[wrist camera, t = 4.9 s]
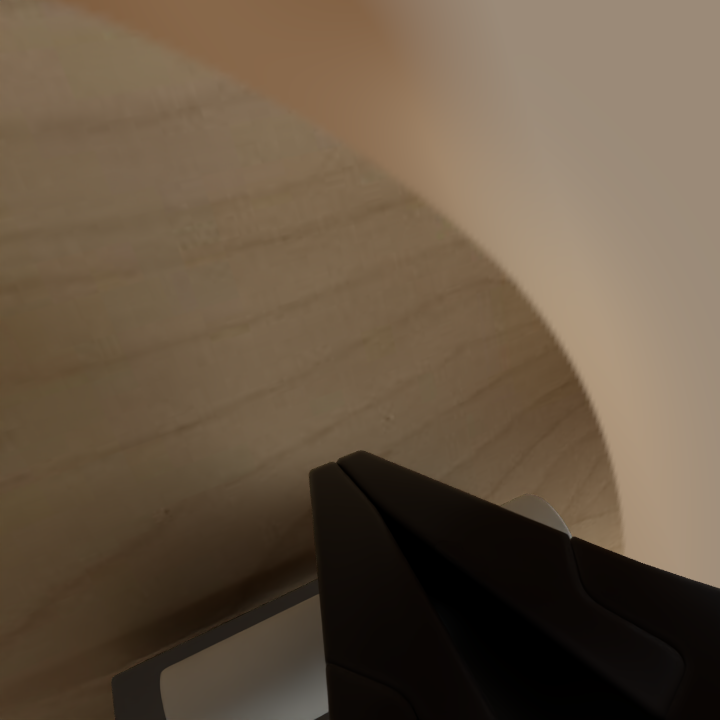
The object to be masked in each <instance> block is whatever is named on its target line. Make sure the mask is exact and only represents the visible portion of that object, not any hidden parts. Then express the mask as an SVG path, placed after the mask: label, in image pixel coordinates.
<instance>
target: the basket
mask: <svg viewBox="0 0 720 720" xmlns="http://www.w3.org/2000/svg"><path fill="white" fill-rule="evenodd" d="M501 507H503V508H505V509H508V510H510V511H513V512H515V513H518V514H520V515H523V516H525V517H527V518H530V519H532V520H535V521H537V522H540V523H542V524H545V525H547V526H550V527H552V528H554V529H557V530H559V531H562V532H564V533H567V534H568V535H569V537H570V539H571V538H572V536H571V533H570V531H569V529H568V528H567V526H566V524H565V523H564V521H563V520H562V518H561V517H560V515H559V514H558V513H557V512H556V510H555V509H554V508H553V507H552V506H551V505H550V504H549V503H548V502H546V501H545V500H544V499H542V498H541V497H539V496H537V495H534V494H524V495H521V496H519V497H517V498H515V499H513V500H511V501H509V502H507V503H505V504H503V505H501ZM325 668H326V664H325V656H324V645H323V633H322V621H321V610H320V598H319V587H318V579H317V580H315V581H312V582H310V583H308V584H306V585H304V586H302V587H300V588H298V589H296V590H294V591H291V592H289V593H287V594H285V595H283V596H281V597H279V598H277V599H275V600H273V601H270V602H268V603H266V604H264V605H262V606H260V607H258V608H256V609H254V610H252V611H250V612H247V613H245V614H243V615H241V616H239V617H237V618H235V619H233V620H231V621H229V622H226V623H224V624H222V625H220V626H218V627H216V628H214V629H212V630H210V631H208V632H205V633H203V634H201V635H199V636H197V637H195V638H193V639H191V640H189V641H187V642H184V643H182V644H180V645H178V646H176V647H174V648H172V649H170V650H168V651H166V652H164V653H161V654H159V655H157V656H155V657H153V658H151V659H149V660H147V661H145V662H143V663H140V664H138V665H136V666H134V667H132V668H130V669H128V670H126V671H124V672H122V673H119V674H117V675H115V676H114V677H113V678H112V681H111V684H112V695H113V705H114V715H115V720H329V712H328V695H327V684H326V672H325Z"/></svg>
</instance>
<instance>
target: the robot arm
mask: <svg viewBox="0 0 720 720" xmlns="http://www.w3.org/2000/svg"><path fill="white" fill-rule="evenodd" d="M309 483H310V494H311V506H312V518H313V529H314V541H315V552H316V564H317V575H318V587H319V598H320V610H321V621H322V633H323V645H324V656H325V664H326V668H325V672H326V684H327V695H328V712H329V720H720V588H716V587H713V586H710V585H707V584H704V583H701V582H697V581H694V580H691V579H688V578H685V577H682V576H679V575H676V574H673V573H670V572H667V571H664V570H661V569H658V568H655V567H652V566H649V565H646V564H643V563H641V562H638V561H636V560H633V559H630V558H628V557H625V556H622V555H620V554H617V553H615V552H612V551H609V550H607V549H604V548H602V547H599V546H597V545H594V544H592V543H589V542H587V541H584V540H582V539H579V538H577V537H572V538H571V539H570V537H569V535H568V534H567V533H564V532H562V531H559V530H557V529H554V528H552V527H550V526H547V525H545V524H542V523H540V522H537V521H535V520H532V519H530V518H527V517H525V516H523V515H520V514H518V513H515V512H513V511H510V510H508V509H505V508H503V507H501V506H498V505H496V504H493V503H491V502H488V501H486V500H483V499H481V498H478V497H476V496H474V495H471V494H469V493H466V492H464V491H461V490H459V489H456V488H454V487H452V486H449V485H447V484H444V483H442V482H439V481H437V480H434V479H432V478H429V477H427V476H425V475H422V474H420V473H417V472H415V471H412V470H410V469H407V468H405V467H403V466H400V465H398V464H395V463H393V462H390V461H388V460H385V459H383V458H380V457H378V456H376V455H373V454H371V453H368V452H366V451H361V450H360V451H356V452H354V453H351V454H349V455H347V456H344V457H342V458H339V459H338V461H337V462H336V463H335V462H329V463H327V464H324V465H322V466H319V467H317V468H315V469H312V470H311V471H310V472H309Z"/></svg>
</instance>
